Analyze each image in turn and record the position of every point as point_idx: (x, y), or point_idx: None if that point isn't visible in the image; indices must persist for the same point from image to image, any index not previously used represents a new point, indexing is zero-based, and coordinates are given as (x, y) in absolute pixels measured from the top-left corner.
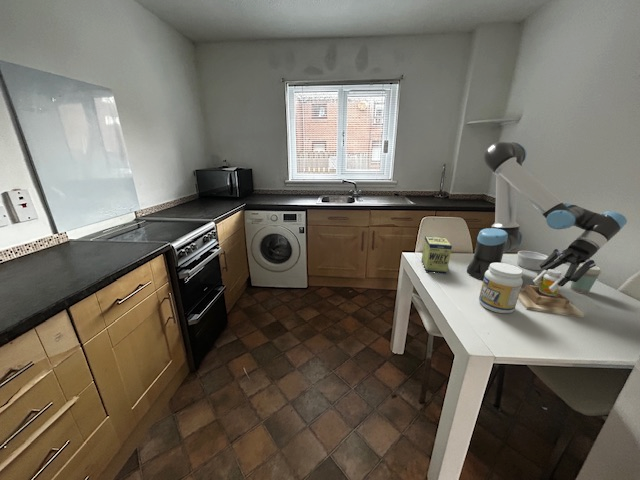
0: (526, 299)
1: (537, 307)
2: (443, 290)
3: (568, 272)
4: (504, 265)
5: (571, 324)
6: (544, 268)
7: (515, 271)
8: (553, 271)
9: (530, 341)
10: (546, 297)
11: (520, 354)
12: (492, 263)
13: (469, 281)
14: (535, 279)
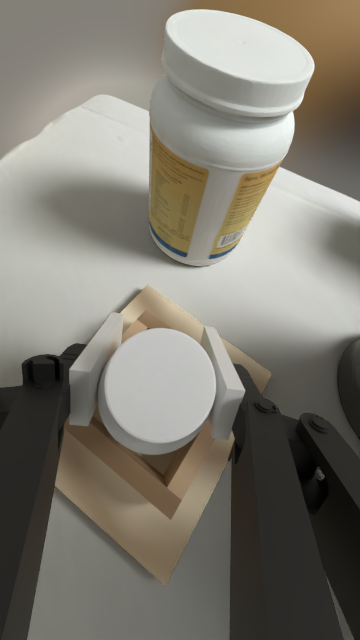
0: (181, 330)
1: (129, 309)
2: (289, 194)
3: (28, 425)
4: (270, 57)
5: (23, 328)
6: (258, 402)
7: (191, 32)
8: (160, 359)
9: (59, 170)
10: (125, 338)
11: (51, 129)
12: (302, 49)
13: (338, 294)
14: (212, 332)
